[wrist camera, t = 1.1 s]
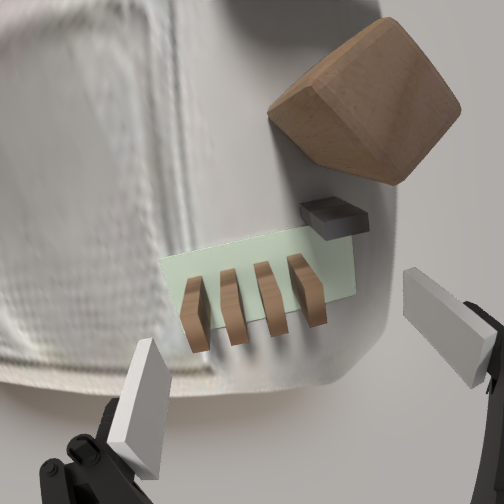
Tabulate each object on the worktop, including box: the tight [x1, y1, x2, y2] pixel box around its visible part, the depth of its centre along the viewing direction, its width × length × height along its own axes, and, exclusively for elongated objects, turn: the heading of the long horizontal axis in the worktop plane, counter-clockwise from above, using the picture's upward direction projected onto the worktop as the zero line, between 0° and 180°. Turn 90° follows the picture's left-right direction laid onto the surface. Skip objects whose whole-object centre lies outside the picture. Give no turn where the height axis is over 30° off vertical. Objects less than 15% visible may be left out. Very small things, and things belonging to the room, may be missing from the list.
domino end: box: [179, 276, 211, 353], centre depth 38 cm, size 5×2×10 cm, turn 12°
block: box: [267, 17, 461, 186], centre depth 28 cm, size 10×10×20 cm
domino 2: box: [253, 261, 289, 337], centre depth 38 cm, size 5×2×10 cm, turn 12°
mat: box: [159, 225, 356, 334], centre depth 43 cm, size 12×26×1 cm, turn 102°
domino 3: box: [286, 253, 327, 328], centre depth 38 cm, size 5×2×10 cm, turn 12°
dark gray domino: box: [300, 197, 369, 241], centre depth 36 cm, size 5×2×10 cm, turn 101°
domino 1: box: [220, 268, 249, 346], centre depth 38 cm, size 5×2×10 cm, turn 11°
